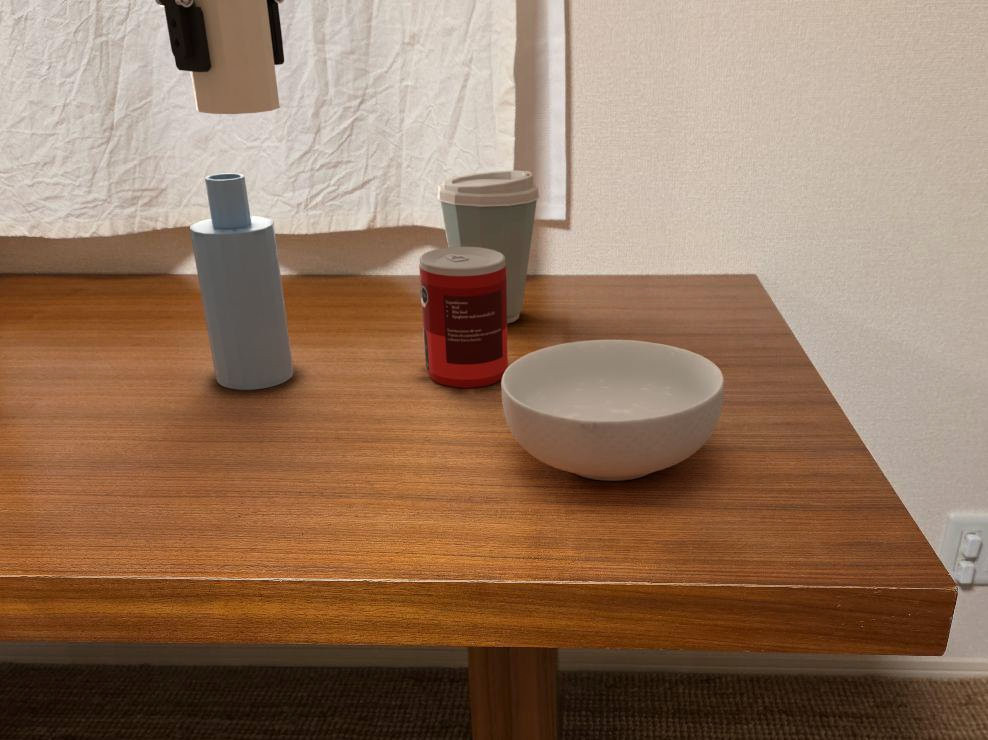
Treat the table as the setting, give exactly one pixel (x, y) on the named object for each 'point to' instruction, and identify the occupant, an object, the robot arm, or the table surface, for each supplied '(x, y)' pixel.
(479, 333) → the canned food
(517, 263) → the disposable coffee cup
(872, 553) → the table surface
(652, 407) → the cereal bowl
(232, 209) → the water bottle
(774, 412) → the table surface
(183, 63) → the robot arm
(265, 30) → the paper cup
